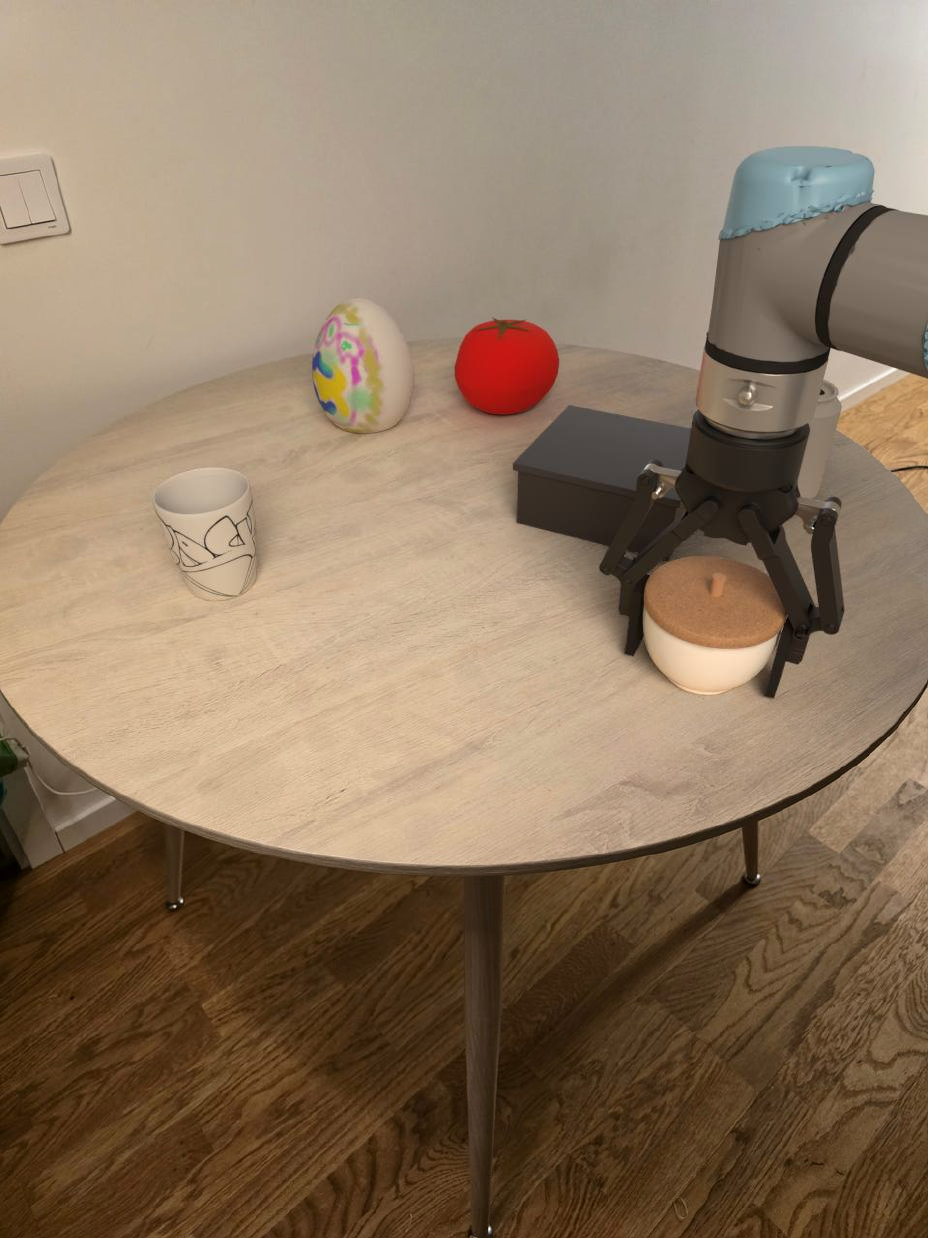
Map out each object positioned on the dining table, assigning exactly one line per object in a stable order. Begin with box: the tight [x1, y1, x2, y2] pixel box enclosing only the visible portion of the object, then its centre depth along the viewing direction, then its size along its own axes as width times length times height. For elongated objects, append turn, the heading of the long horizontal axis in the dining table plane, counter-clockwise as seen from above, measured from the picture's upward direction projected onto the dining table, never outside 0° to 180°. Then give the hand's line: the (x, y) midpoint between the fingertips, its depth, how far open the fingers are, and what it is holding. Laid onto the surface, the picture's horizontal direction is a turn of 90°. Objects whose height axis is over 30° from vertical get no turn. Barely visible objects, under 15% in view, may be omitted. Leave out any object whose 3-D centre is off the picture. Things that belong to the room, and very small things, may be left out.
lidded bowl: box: [643, 555, 787, 696], centre depth 68 cm, size 11×11×9 cm
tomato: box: [454, 317, 560, 415], centre depth 108 cm, size 12×13×11 cm
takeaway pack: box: [512, 404, 691, 562], centre depth 89 cm, size 17×15×7 cm
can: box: [798, 379, 843, 499], centre depth 89 cm, size 8×8×12 cm
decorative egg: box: [311, 296, 415, 435], centre depth 104 cm, size 12×12×15 cm
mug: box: [151, 466, 258, 602], centre depth 80 cm, size 11×8×10 cm
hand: (701, 665), depth 71 cm, fingers closed on lidded bowl, 11 cm apart
